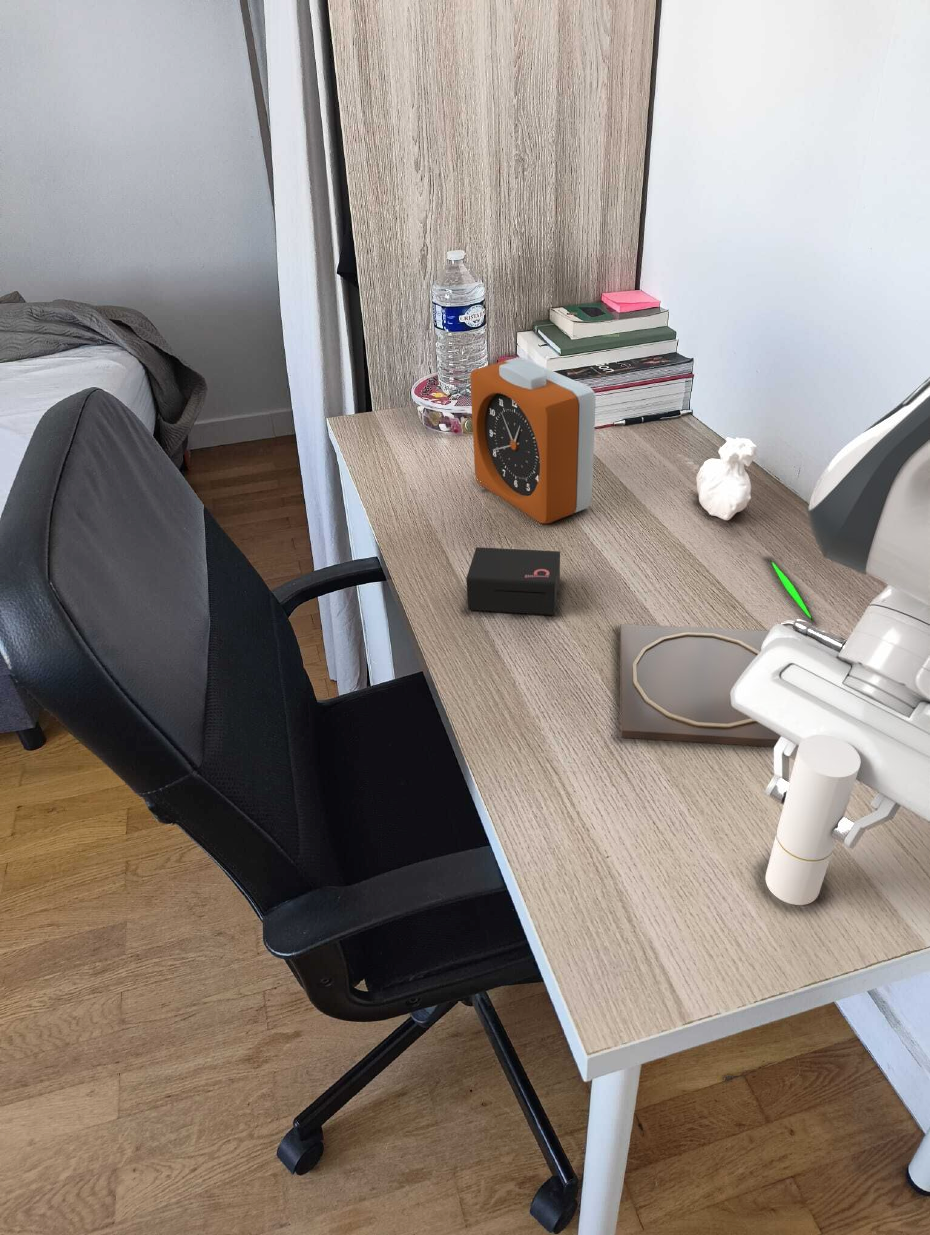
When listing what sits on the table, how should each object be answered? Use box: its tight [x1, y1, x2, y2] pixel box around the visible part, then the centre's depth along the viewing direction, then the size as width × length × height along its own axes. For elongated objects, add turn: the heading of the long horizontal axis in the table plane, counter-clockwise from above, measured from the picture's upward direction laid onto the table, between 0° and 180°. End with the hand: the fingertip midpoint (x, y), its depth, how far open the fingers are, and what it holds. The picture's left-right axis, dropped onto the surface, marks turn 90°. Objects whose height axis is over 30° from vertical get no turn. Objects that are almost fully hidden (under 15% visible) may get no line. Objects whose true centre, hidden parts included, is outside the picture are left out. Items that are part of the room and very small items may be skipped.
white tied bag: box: [695, 436, 759, 521], centre depth 119 cm, size 12×8×11 cm
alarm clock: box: [469, 356, 597, 524], centre depth 121 cm, size 18×9×21 cm, turn 33°
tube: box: [765, 735, 861, 906], centre depth 66 cm, size 4×4×15 cm
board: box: [619, 623, 781, 748], centre depth 90 cm, size 18×18×1 cm
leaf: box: [770, 560, 814, 622], centre depth 104 cm, size 1×14×1 cm, turn 4°
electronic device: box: [466, 546, 561, 616], centre depth 104 cm, size 7×11×5 cm
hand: (807, 820), depth 65 cm, fingers open, 4 cm apart
